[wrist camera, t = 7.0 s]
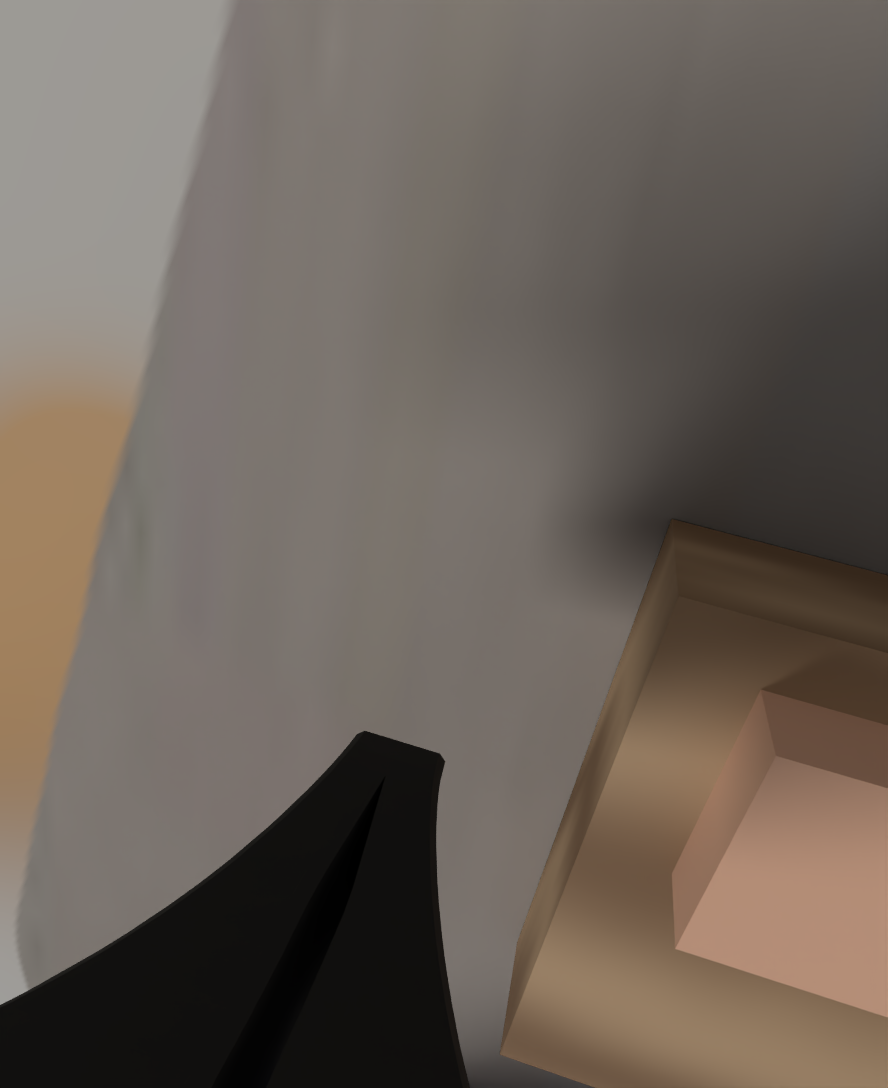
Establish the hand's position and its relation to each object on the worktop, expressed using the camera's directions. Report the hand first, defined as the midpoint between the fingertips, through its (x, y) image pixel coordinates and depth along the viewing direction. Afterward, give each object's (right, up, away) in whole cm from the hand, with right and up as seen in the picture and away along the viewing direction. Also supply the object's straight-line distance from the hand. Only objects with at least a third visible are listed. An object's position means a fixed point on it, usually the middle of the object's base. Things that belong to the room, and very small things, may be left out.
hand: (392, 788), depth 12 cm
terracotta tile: (+8, -1, +1) cm, 8 cm away
